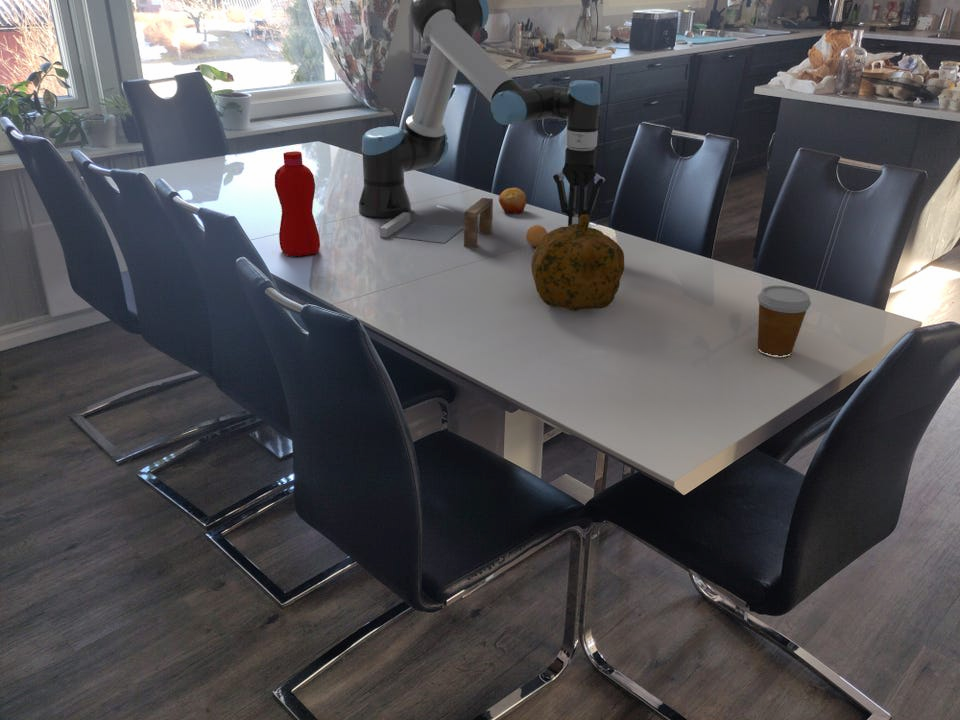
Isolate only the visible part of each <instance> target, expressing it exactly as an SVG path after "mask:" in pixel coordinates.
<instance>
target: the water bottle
mask: <svg viewBox="0 0 960 720" xmlns="http://www.w3.org/2000/svg"><path fill="white" fill-rule="evenodd" d="M282 155H283V163H284V164H283V165H281V166H279V168H278V169H277V170H276V171H275V174H274V188H275V191H276V195H277V198H278V201H279V205H280V208H281V217H280V218H281V219H280V226H279V232H278V239H279V247H280V250H281V251H282V252H283V254H284V255H286V256H287V255H288V257H291V256H298V257H303V256H302V255H305V256H311V255H310V254H314V255H315V253H316V254H317V253H319V252H320V248H321V242H320V241H321V240H320V234H319V231H318V228H317V227H318V226H317V223H316V220H315V217H314V213H313V206H314V199H315V193H316V182H315V177H314V173H313V172H312V171H311V169H310V168H309V167H308V166H307V165H305V164H303V153H302V152H301V151H299V150H298V151H297V150H294V151H285V152H283V154H282Z"/></svg>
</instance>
